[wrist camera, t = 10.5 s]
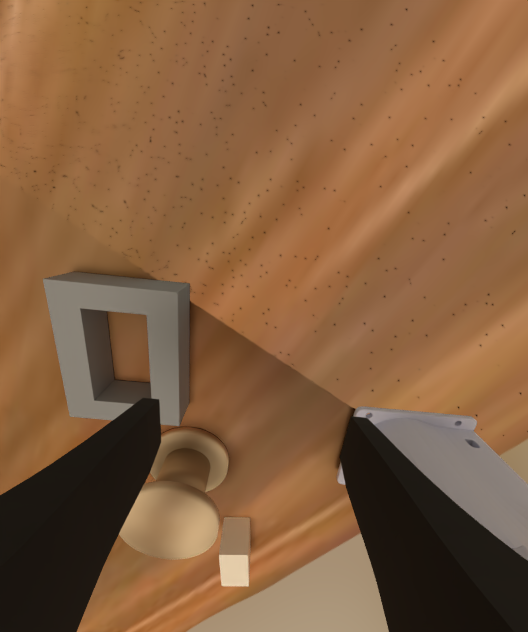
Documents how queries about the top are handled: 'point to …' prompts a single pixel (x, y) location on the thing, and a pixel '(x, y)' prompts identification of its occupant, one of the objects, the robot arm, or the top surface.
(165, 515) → the bobbin
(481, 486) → the robot arm
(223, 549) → the rectangular block
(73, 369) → the board with rectangular hole
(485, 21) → the top surface
